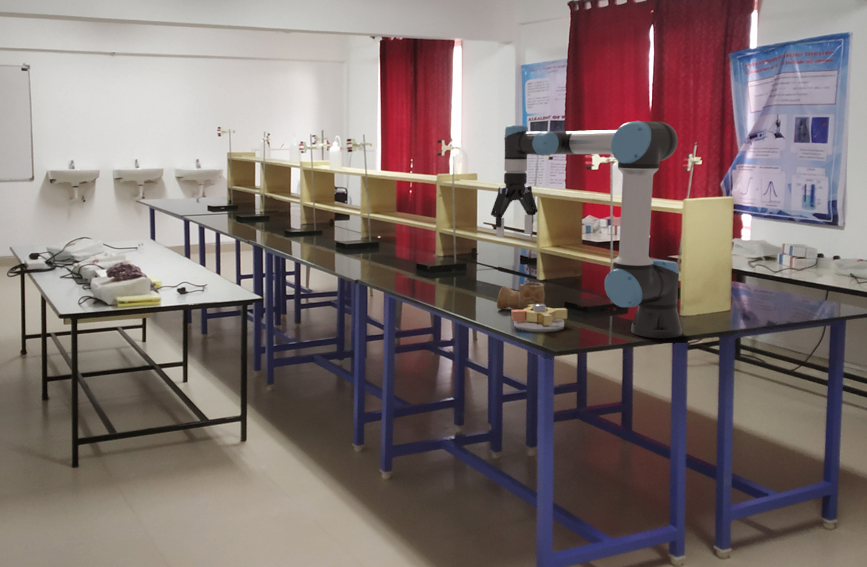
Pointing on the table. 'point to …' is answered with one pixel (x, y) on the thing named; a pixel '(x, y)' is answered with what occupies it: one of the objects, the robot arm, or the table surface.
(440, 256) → the table surface
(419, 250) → the table surface
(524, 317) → the star wheel
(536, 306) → the star wheel turntable
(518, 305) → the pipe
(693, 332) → the table surface
